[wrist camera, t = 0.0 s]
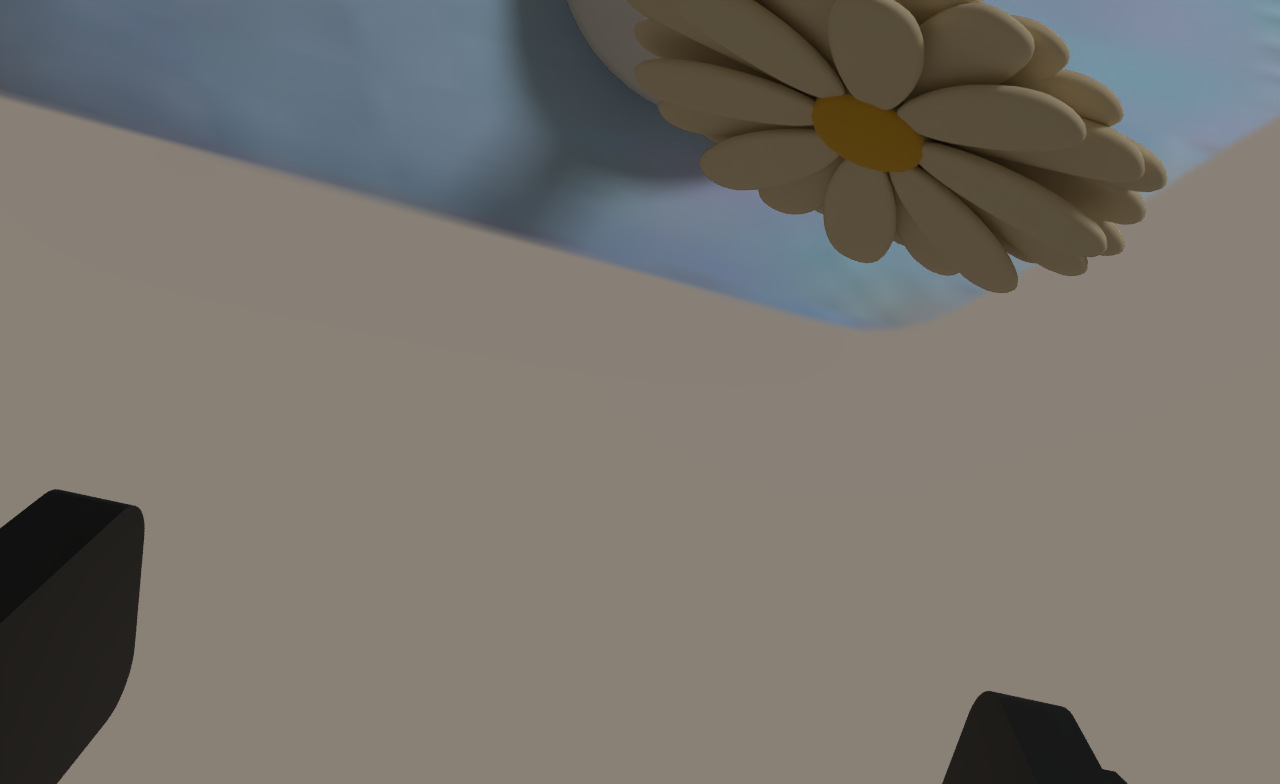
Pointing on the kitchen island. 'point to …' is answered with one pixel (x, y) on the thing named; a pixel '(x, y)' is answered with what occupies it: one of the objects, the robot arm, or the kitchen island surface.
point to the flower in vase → (893, 124)
